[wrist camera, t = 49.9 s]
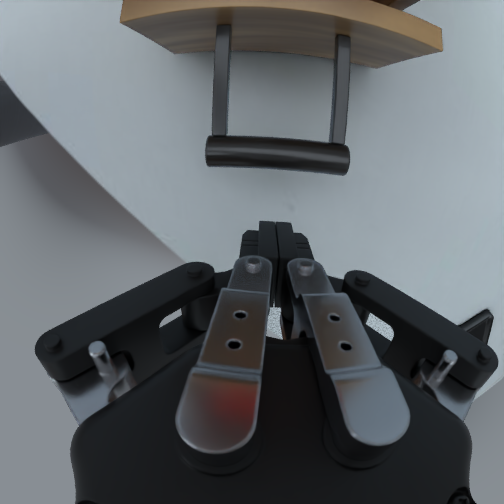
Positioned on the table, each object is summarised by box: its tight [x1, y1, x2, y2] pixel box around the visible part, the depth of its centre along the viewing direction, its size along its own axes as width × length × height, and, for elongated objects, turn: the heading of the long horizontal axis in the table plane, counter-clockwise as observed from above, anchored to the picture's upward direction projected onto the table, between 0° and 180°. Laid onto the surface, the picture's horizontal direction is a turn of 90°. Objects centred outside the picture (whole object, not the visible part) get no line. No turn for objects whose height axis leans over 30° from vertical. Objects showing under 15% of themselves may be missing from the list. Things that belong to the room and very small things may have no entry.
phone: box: [459, 310, 494, 344], centre depth 26 cm, size 8×1×15 cm
